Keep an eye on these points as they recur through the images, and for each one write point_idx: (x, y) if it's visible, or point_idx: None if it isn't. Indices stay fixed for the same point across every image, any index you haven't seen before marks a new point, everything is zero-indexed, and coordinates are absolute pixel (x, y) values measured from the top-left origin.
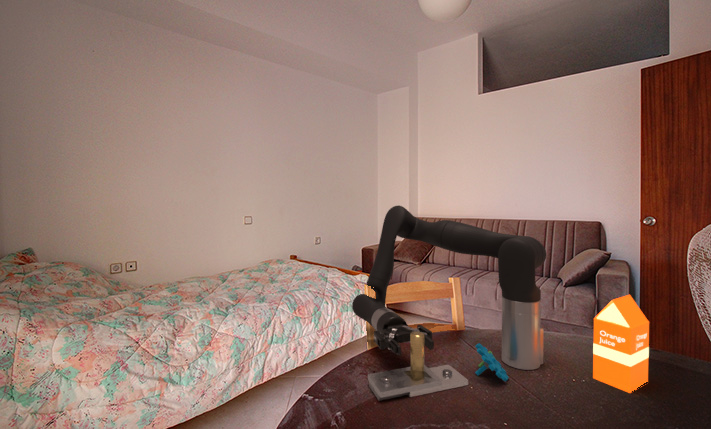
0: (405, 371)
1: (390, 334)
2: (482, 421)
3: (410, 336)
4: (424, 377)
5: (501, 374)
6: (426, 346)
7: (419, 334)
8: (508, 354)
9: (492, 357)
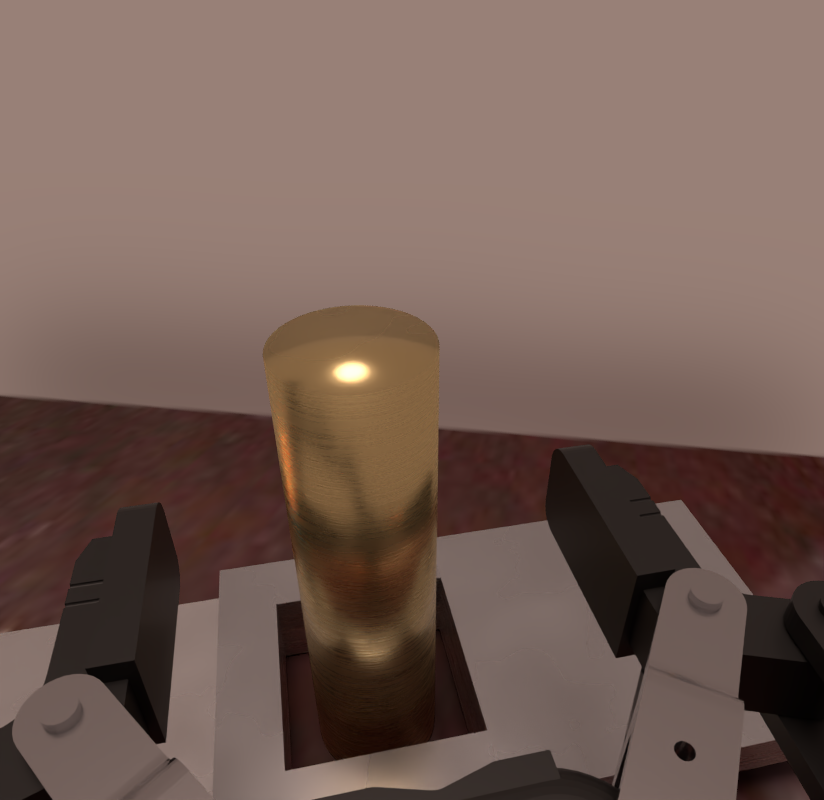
0: (469, 734)
1: (722, 696)
2: (200, 414)
3: (438, 372)
4: (289, 750)
5: None
6: (172, 653)
7: (326, 341)
8: None
9: None
